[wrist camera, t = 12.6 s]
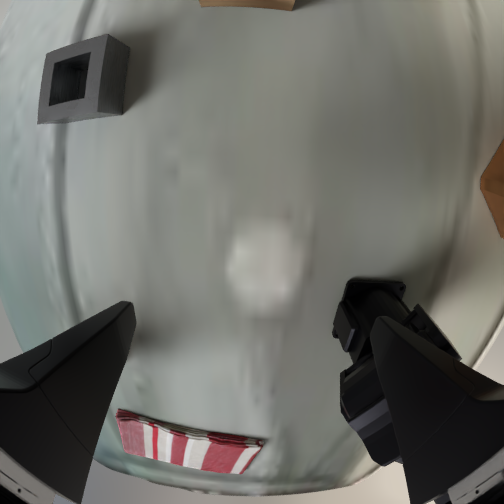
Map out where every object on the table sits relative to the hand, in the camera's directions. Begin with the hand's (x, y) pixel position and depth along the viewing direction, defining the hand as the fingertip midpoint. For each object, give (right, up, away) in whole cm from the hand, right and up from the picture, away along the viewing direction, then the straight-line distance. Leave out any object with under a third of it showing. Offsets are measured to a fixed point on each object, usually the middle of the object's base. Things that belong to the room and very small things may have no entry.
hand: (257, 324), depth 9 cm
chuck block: (-13, +16, +7) cm, 22 cm away
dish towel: (-11, -31, +28) cm, 43 cm away
